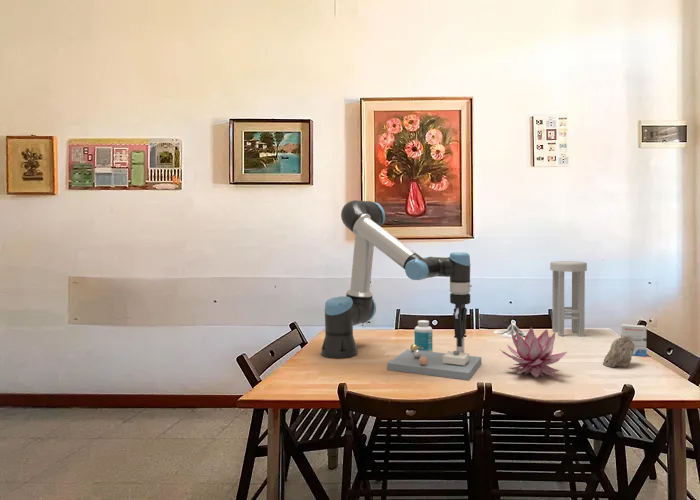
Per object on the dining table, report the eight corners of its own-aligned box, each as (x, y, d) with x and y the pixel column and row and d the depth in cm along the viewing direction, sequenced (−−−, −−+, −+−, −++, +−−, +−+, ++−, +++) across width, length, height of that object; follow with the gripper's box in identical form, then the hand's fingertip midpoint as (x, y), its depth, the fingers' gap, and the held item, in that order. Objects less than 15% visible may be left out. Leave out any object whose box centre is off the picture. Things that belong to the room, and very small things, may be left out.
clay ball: (417, 365, 171) (417, 356, 170) (420, 363, 173) (420, 354, 173) (426, 366, 169) (426, 357, 169) (429, 364, 172) (428, 355, 172)
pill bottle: (432, 355, 193) (432, 323, 192) (414, 355, 194) (413, 322, 194) (432, 351, 200) (432, 319, 200) (415, 350, 202) (414, 319, 201)
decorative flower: (560, 386, 153) (561, 341, 152) (494, 377, 164) (494, 334, 164) (569, 369, 171) (569, 328, 170) (509, 361, 182) (509, 323, 182)
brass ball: (409, 352, 189) (409, 344, 189) (411, 350, 192) (411, 342, 192) (416, 353, 187) (416, 345, 187) (419, 351, 190) (419, 343, 190)
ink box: (644, 353, 191) (644, 325, 191) (646, 356, 187) (646, 327, 186) (620, 351, 195) (620, 323, 194) (621, 354, 190) (622, 325, 190)
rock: (628, 355, 167) (605, 344, 172) (619, 378, 171) (597, 366, 177) (643, 340, 175) (620, 330, 181) (634, 362, 180) (613, 352, 185)
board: (387, 369, 175) (387, 363, 174) (407, 355, 194) (407, 349, 194) (468, 380, 161) (468, 373, 161) (481, 363, 181) (481, 357, 181)
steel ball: (412, 358, 180) (411, 350, 180) (414, 356, 183) (414, 348, 183) (420, 359, 179) (419, 351, 178) (422, 357, 181) (422, 349, 181)
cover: (442, 362, 172) (442, 352, 172) (448, 357, 179) (448, 347, 179) (464, 365, 169) (464, 355, 168) (469, 359, 176) (469, 350, 176)
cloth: (544, 338, 222) (544, 325, 222) (509, 341, 218) (509, 328, 218) (517, 329, 244) (517, 317, 243) (484, 331, 239) (484, 319, 239)
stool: (546, 330, 237) (547, 261, 236) (579, 330, 235) (579, 260, 234) (555, 337, 222) (556, 263, 221) (590, 337, 220) (591, 263, 219)
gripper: (466, 295, 171) (466, 359, 172) (473, 291, 183) (473, 351, 184) (445, 294, 175) (446, 357, 176) (454, 290, 186) (454, 349, 187)
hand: (460, 354), depth 180 cm, fingers closed
